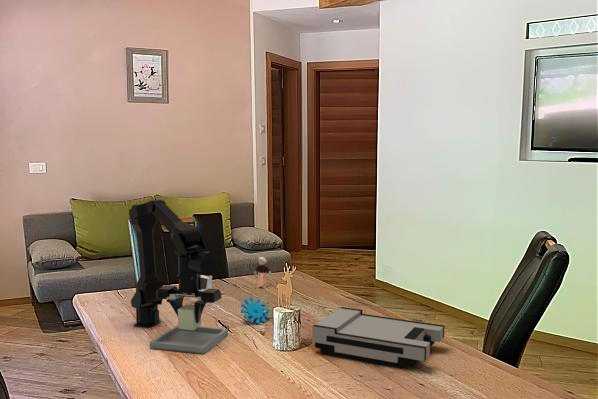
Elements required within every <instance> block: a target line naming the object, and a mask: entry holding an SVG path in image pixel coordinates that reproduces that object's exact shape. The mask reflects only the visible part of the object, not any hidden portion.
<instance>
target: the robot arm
mask: <svg viewBox="0 0 598 399" xmlns="http://www.w3.org/2000/svg"><path fill="white" fill-rule="evenodd" d="M128 216H129V218H130V219H129V220H130V225H131V226H132V227H133V229H134V230H135V232H136V237H137V238H136V239H137V249H138V262H139V263H138V264H139V265H138V266H139V278H138V280H137V283H136V284H135V292H134V295H133V296H132V298H131V299H130V304H131V305H130V306H131V308H134V309H135V313H136V314H135V315H136V316H135V318H136V323H134V324H133V326H134V327H143V328H152V327H154V326H156V325H157V324H159V323H161V322H162V321H161V319H160V310H159V305H162V303H163V300H166V303H169V304H170V306H171V308H172V310H174V313H175V315H176V316H177V317H178V309H179V308H180V307H182V306H184V305H183V302H184V298H185V297H186V298H195V297H196V298H198V301H197V302H195V301H194V303H193V305H194V307H195V319H196V323H199V321H200V318H201V319H202V315H203V311H204V308H205V305H206V303H211V304H214V303H216V302H218V301H219V300H221V299H222V291H221V290H220V288H212V289H210V288H209V289H207V290H205V291H199V290H201V289H202V288H203V289H206V287H207V280H208V279H206V278H202V277H201V275H204V276H212V275H213V274H214V273H216V270H217V267H218V266H217V265H218V263H217V261H216V258H214V256H211V253H212V252H211V251H209V250H208V247H207V244H206V242H205V240H204V238H203V236H202V234H201V231H200V230H199V228H197V227H195V226H194V225H193V224H190V223H186V222H184V221H183V220H182V219H181V218H180V217H179V216H178V215H177V214H176V212H174V211H173V210H172V209H171V208H170V207H169V206H168V205H167V203H166V201H165V200H163V199H152V200H148V201H147V202H145V203H139V204H132V205H131V207H130V209H129V210H128ZM158 221H159V222H160V224H161V225H162V226H164V228H165V229H167V231H168V232H169V233H170V236H171V237H170V240H171V241H172V242H173V245H174V246H175V248H177V249H175V251H174V255H177V261H178V262H177V265H178V266H177V267H178V268H177V270H178V274H177V275H176V280H178V287H177V285H170V284H169V285H167V284H166V285H164V282H163V280H162V279H159V277H158V276H157V273H156V272H157V269H156V260H155V259H156V256H155V245H154V234H153V232H154V228H155V227H156V225H157V222H158ZM206 306H207V305H206Z"/></svg>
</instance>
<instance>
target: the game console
mask: <svg viewBox="0 0 598 399" xmlns="http://www.w3.org/2000/svg"><path fill="white" fill-rule="evenodd" d="M311 327H312V328H311V331H312V332H311V333H312V335H311V336H312V338H311V342H312V343H314V348H316V349H319V350H320V354H321V355H325V356H332V357H336V358H343V359H348V360H353V361H358V362H359V361H360V362H364V363H369V364H374V365H375V364H376V365H381V366H385V367H391V368H397V369H402V370H408V368H409V367H410V366H417V365H418V364H419V362H420V361H422V362H425V361H426V360H427V358H428V357H429V356H431V347H433V345H434V344H435V343H440V342H441V341H442V340H443V339H444V338H445V325H443V324H438V323H437V324H436V323H430V322H423V321H417V320H416V321H414V320H409V319H401V318H395V317H386V316H380V315H375V314H374V315H373V314H366V313H363V309H359V308H351V307H345V306H344V307H343V306H341V307H340V308H338V309H337V310H335V311H333V312H332V313H330V314H329V315H328V316H326V317H324V318H323V319H321V320H319V321H318V322H316V323H315V324H313V325H312V326H311Z"/></svg>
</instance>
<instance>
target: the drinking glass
mask: <svg viewBox="0 0 598 399" xmlns="http://www.w3.org/2000/svg"><path fill="white" fill-rule="evenodd" d="M201 277H202V278H206V279H208V280H207V287H206V289H203V288H202V289H201V290H199V291H205V290H207V289H209V288H210V289H213V288H212V286H213V281H212V280H213V276H212V275H211V276H204V275H201ZM197 301H198V298H196V297H194V303H195V302H197ZM211 304H212V303H206V305H205V306H206V307H207V306H209V305H211Z"/></svg>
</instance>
